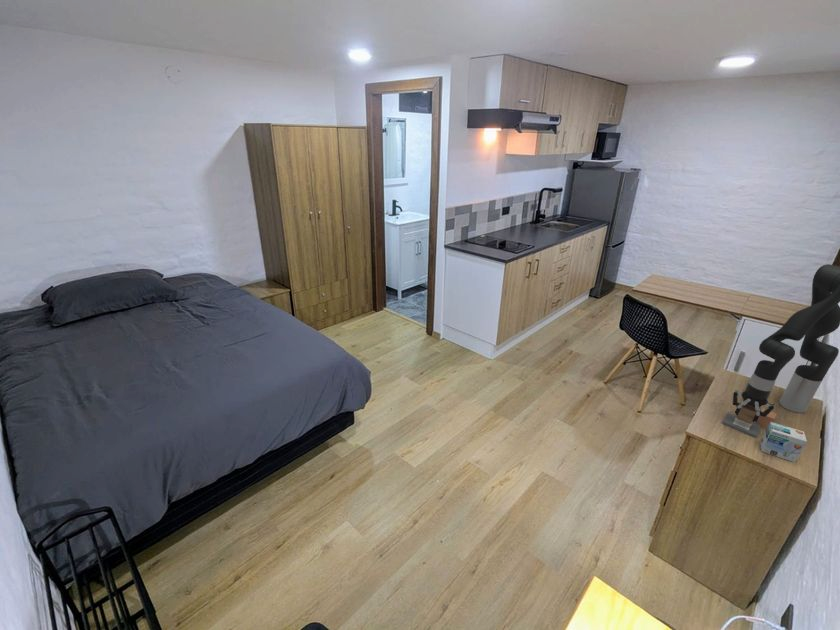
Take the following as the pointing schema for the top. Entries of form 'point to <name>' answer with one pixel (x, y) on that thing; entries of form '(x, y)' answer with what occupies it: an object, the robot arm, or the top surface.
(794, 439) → the light bulb box
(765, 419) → the rust block
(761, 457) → the top surface
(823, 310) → the robot arm
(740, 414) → the walnut block
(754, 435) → the plate
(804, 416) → the top surface
